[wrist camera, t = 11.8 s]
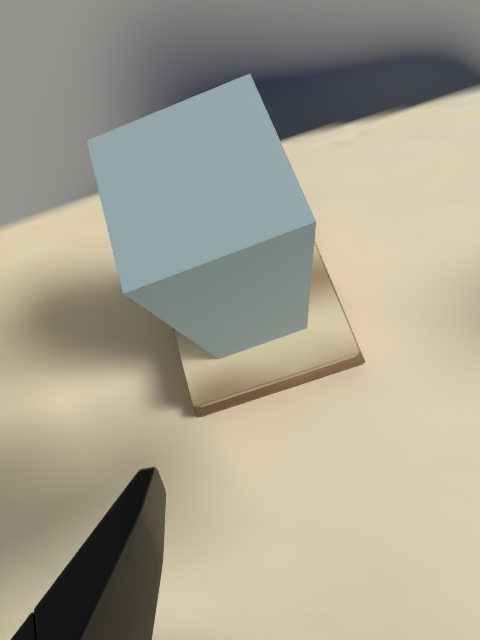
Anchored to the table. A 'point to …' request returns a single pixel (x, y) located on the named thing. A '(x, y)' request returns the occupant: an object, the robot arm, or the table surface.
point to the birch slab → (273, 350)
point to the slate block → (209, 219)
